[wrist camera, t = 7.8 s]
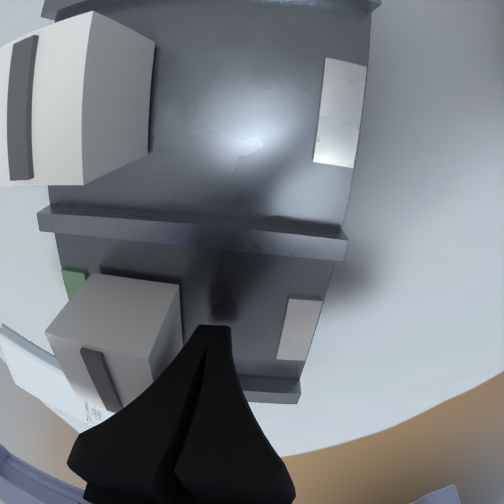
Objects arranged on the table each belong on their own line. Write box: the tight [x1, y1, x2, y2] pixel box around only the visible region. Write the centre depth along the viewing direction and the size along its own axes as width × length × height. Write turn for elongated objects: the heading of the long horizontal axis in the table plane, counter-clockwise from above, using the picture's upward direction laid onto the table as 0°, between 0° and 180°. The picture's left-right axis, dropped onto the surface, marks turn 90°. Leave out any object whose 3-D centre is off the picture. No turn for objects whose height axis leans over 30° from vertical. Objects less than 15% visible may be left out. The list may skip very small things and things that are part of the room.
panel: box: [37, 0, 381, 404], centre depth 8 cm, size 12×27×2 cm, turn 175°
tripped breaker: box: [45, 273, 183, 413], centre depth 10 cm, size 4×4×4 cm
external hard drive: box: [0, 325, 115, 427], centre depth 18 cm, size 2×8×12 cm
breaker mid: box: [0, 11, 155, 187], centre depth 6 cm, size 4×4×4 cm
